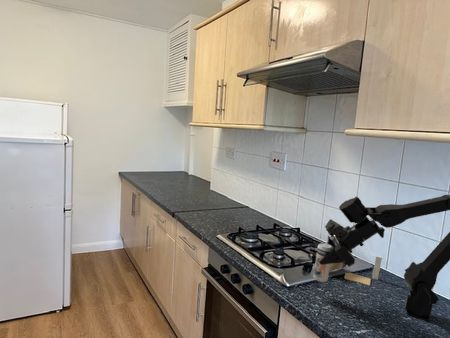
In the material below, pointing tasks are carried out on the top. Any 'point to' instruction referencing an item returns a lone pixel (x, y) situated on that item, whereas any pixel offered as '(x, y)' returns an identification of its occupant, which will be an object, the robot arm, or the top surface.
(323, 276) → the beer can
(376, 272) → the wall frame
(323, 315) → the top surface
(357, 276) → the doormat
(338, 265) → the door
